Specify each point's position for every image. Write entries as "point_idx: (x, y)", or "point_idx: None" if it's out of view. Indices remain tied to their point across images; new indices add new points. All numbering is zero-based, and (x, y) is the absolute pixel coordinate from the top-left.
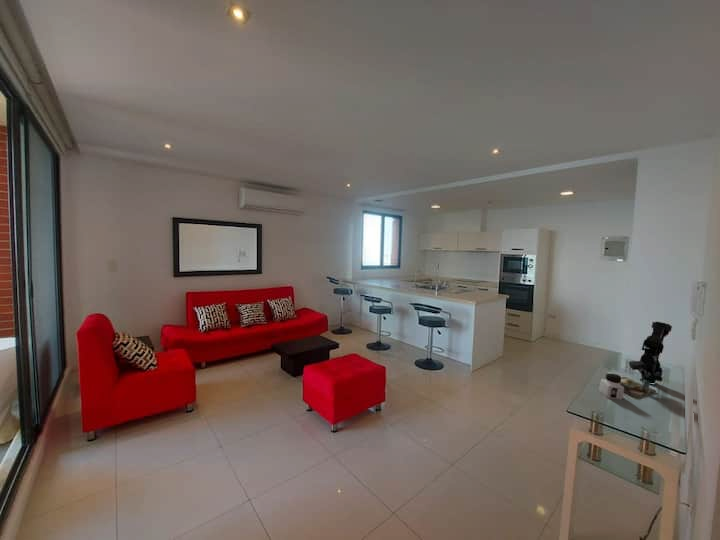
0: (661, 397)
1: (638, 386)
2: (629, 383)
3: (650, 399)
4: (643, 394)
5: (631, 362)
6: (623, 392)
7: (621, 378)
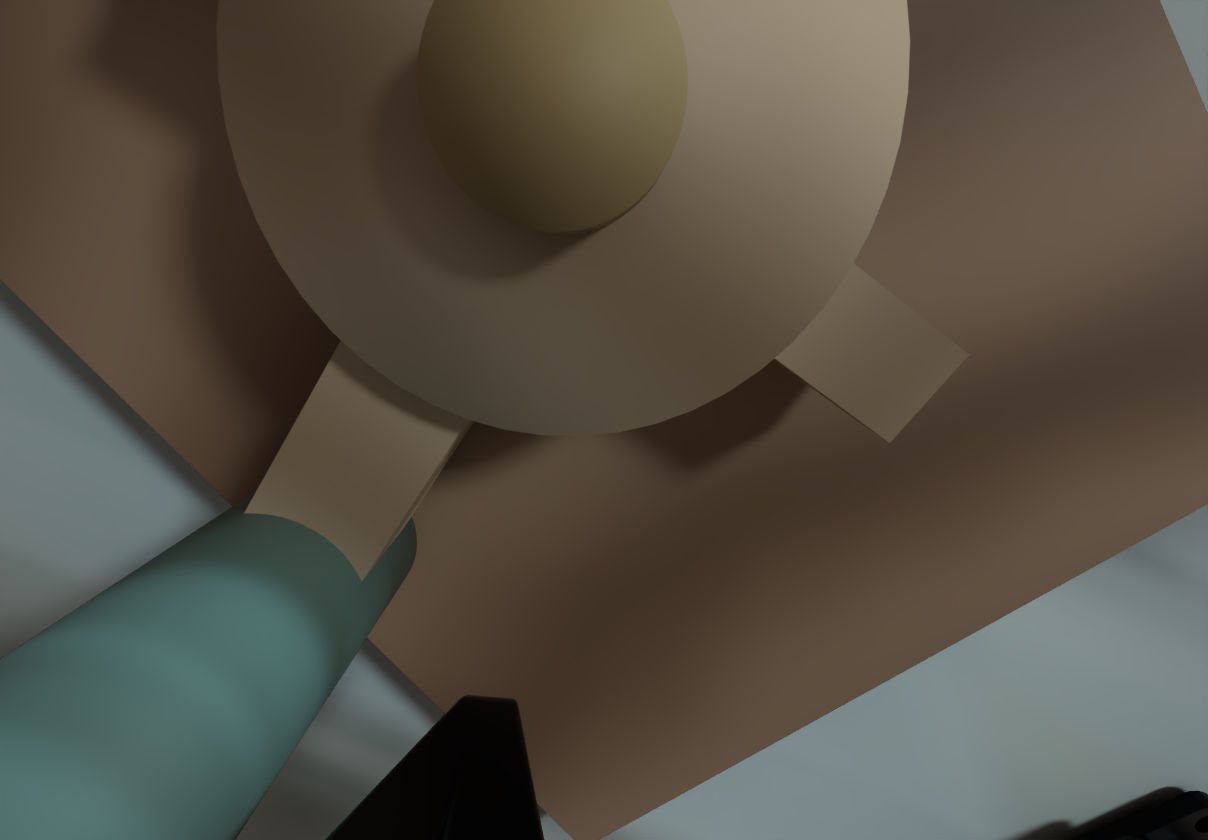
0: (352, 783)
1: (307, 412)
2: (329, 45)
3: (68, 487)
4: (159, 412)
5: None
6: None
7: (1193, 233)
